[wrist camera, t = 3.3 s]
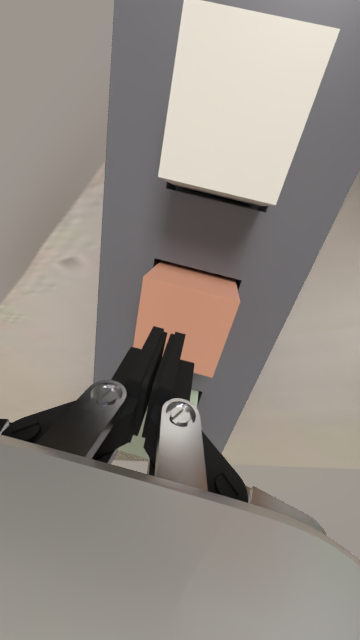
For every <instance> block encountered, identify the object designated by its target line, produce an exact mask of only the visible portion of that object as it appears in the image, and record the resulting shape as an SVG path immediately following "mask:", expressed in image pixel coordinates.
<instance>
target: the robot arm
mask: <svg viewBox="0 0 360 640" xmlns="http://www.w3.org/2000/svg"><path fill="white" fill-rule="evenodd" d="M185 336H186V334H183V333H179V332H175V334H170V337H169V339H168V342H167V345H166V348H165V351H164V346H165V342H166V337H167V332H164V329H163V328H159V327H156V326H153V328H152V330H151V332H150V334H149V336H148V338H147V340H146V342H145V343H144V345H143V347H142V349H139V348H135V347H131V348H130V349H129V351H128V352H127V354H126V356H125V357H124V359H123V360H122V362H121V364H120V365H119V367H118V369H117V370H116V372H115V374H114V375H113V377H112V379H111V380H101V381H98V382H96V383H94V384H92V385H91V386H90V387H89V388H88V389H87V390H86V391H85V392H84V393H83V394H82V395H81V396H80V397H79V398H78V399H77V400H76V401H73V402H70V403H67V404H64V405H60V406H57V407H54V408H51V409H48V410H45V411H42V412H39V413H36V414H33V415H30V416H27V417H24V418H21V419H19V420H17V421H15V422H13V423H10V422H9V420H8V419H0V640H360V560H359V559H358V558H357V557H356V556H355V555H353V554H352V553H351V552H350V551H348V550H347V549H345V548H344V547H343V546H341V545H340V544H338V543H337V542H335V541H334V540H333V539H331V538H330V537H328V536H327V535H326V533H325V531H324V529H323V528H322V527H321V526H320V525H319V524H318V522H317V521H316V520H314V519H313V518H312V517H310V516H309V515H307V514H305V513H304V512H302V511H300V510H298V509H296V508H294V507H292V506H290V505H288V504H286V503H284V502H283V501H280V500H279V499H277V498H275V497H273V496H271V495H269V494H267V493H266V492H264V491H262V490H260V489H258V488H256V487H254V486H253V487H252V489H251V488H249V487H247V486H245V484H244V482H243V481H242V479H241V478H240V476H239V475H238V474H237V473H236V471H235V470H234V469H233V468H232V467H231V465H230V464H229V463H228V462H227V460H226V459H225V458H224V457H223V456H222V454H221V453H220V452H219V451H218V449H217V448H216V447H215V446H214V445H213V443H212V442H211V441H210V440H209V438H208V437H207V436H206V435H205V434H204V432H203V431H202V430H201V421H200V414H199V411H198V409H197V408H196V406H195V405H193V404H192V403H191V402H190V396H191V388H192V380H193V373H194V363H192V362H189V361H185V360H181V359H180V358H181V353H182V349H183V345H184V340H185ZM163 351H164V354H163ZM162 355H163V357H162ZM147 407H148V409H147ZM146 410H147V414H146V418H145V423H144V428H143V432H142V438H145V442H144V446H143V448H144V449H145V451H146V453H147V454H148V456H149V462H148V471H147V474H144V473H140V472H137V471H133V470H129V469H126V468H122V467H119V466H115V465H111V463H112V461H113V459H114V458H115V456H116V454H117V452H118V449H119V447H121V446H123V445H125V444H127V443H131V440H132V437H133V435H135V436H138V434H139V431H140V428H141V425H142V422H143V419H144V416H145V413H146Z"/></svg>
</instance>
